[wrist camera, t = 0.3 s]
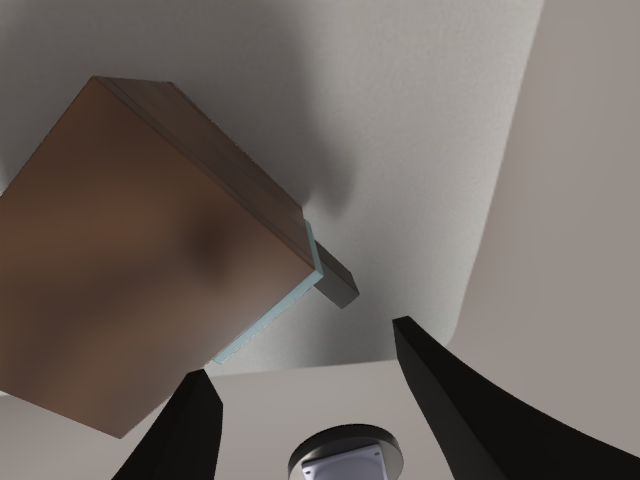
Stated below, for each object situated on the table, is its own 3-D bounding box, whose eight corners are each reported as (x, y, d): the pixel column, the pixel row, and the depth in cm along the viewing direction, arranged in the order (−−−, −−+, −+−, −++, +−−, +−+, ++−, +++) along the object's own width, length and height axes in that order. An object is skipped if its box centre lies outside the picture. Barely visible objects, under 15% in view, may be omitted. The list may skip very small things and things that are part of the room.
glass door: (346, 257, 22) (372, 317, 16) (273, 320, 23) (272, 396, 17) (304, 217, 20) (315, 268, 14) (228, 287, 21) (211, 359, 16)
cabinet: (302, 207, 21) (316, 269, 13) (167, 333, 23) (120, 440, 16) (171, 81, 17) (92, 74, 9) (29, 251, 19) (-114, 344, 12)
